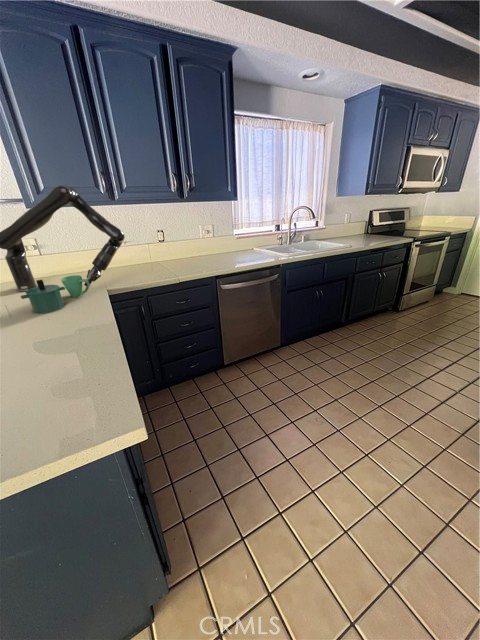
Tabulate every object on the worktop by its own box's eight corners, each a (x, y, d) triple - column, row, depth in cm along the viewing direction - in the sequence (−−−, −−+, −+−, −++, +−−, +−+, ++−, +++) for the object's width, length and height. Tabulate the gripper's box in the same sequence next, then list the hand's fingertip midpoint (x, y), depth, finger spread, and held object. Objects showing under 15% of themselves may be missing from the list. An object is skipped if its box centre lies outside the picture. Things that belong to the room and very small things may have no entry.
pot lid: (23, 291, 128) (19, 280, 126) (55, 284, 137) (51, 274, 135) (29, 298, 120) (25, 286, 118) (63, 290, 129) (59, 279, 126)
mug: (62, 298, 145) (56, 280, 140) (74, 291, 154) (69, 275, 149) (86, 298, 143) (81, 281, 139) (97, 292, 152) (93, 275, 147)
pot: (24, 310, 131) (17, 291, 126) (65, 299, 142) (60, 283, 138) (30, 317, 123) (23, 298, 119) (73, 306, 134) (67, 288, 130)
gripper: (92, 255, 153) (75, 280, 150) (101, 258, 145) (83, 285, 142) (103, 262, 159) (87, 286, 156) (113, 265, 150) (96, 292, 148)
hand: (86, 286), depth 149 cm, fingers closed
